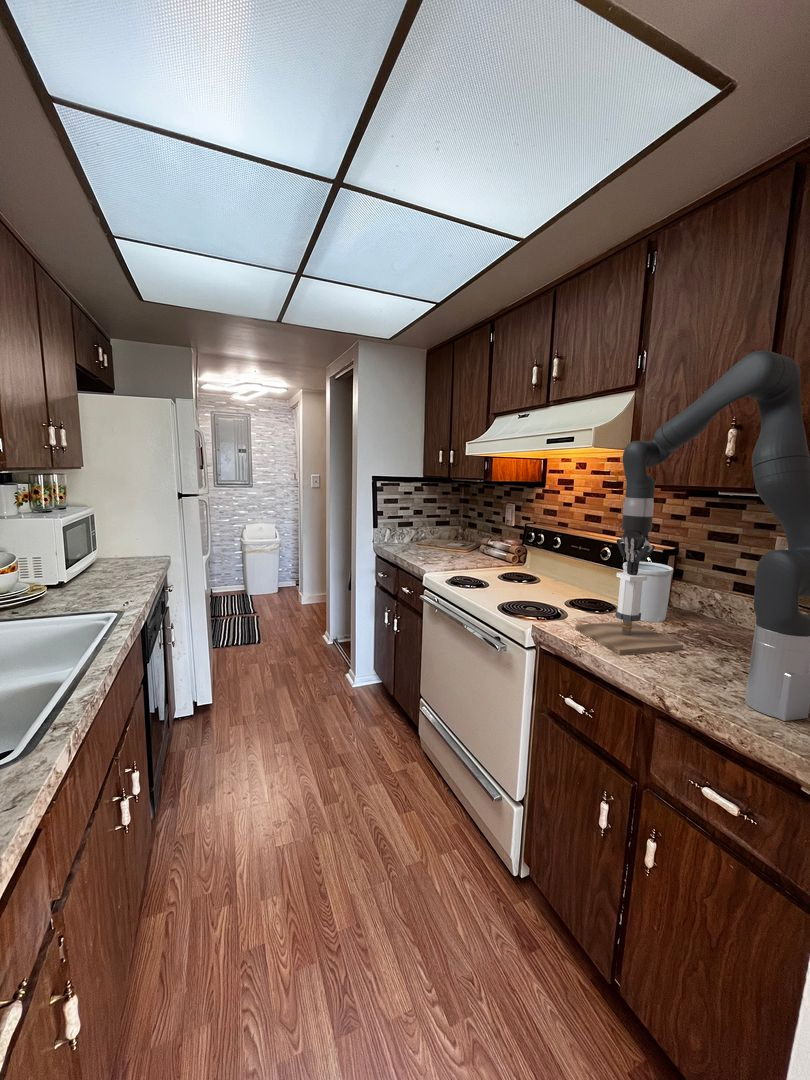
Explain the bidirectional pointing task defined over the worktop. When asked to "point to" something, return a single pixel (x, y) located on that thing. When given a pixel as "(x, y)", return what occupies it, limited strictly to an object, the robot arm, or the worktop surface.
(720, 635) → the worktop surface
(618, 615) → the o ring
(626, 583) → the sleeve
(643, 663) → the worktop surface
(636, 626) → the pipe stand
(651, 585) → the utensil holder
